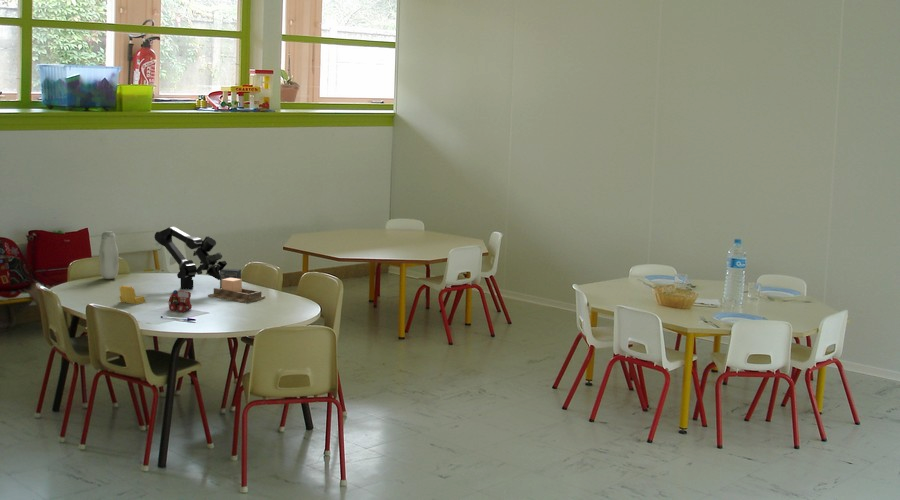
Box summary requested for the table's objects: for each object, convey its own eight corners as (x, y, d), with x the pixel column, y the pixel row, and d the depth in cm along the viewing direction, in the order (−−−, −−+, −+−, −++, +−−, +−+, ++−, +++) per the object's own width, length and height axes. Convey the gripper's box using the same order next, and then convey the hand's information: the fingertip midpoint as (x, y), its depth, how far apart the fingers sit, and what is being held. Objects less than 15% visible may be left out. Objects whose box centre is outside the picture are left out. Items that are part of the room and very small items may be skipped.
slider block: (221, 294, 532) (221, 279, 531) (230, 292, 538) (230, 277, 537) (232, 295, 528) (232, 281, 527) (241, 293, 534) (241, 279, 533)
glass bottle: (104, 276, 575) (103, 229, 570) (121, 277, 574) (120, 230, 569) (96, 280, 565) (95, 231, 560) (114, 280, 564) (113, 232, 559)
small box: (241, 287, 558) (241, 268, 557) (238, 289, 552) (238, 270, 550) (223, 286, 559) (223, 268, 558) (219, 288, 553) (219, 270, 551)
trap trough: (208, 296, 531) (208, 289, 530) (228, 291, 545) (228, 284, 544) (245, 302, 518) (245, 295, 517) (265, 297, 532) (265, 290, 531)
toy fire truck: (174, 308, 501) (173, 288, 499) (194, 310, 496) (194, 290, 495) (165, 310, 494) (165, 290, 493) (186, 313, 490) (186, 292, 488)
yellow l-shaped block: (146, 301, 513) (146, 284, 512) (134, 305, 505) (133, 287, 503) (130, 299, 517) (130, 282, 516) (117, 303, 509) (117, 285, 507)
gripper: (199, 250, 528) (215, 272, 524) (224, 246, 544) (239, 268, 540) (189, 262, 533) (204, 285, 529) (213, 258, 549) (228, 280, 545)
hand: (219, 279), depth 536 cm, fingers closed
